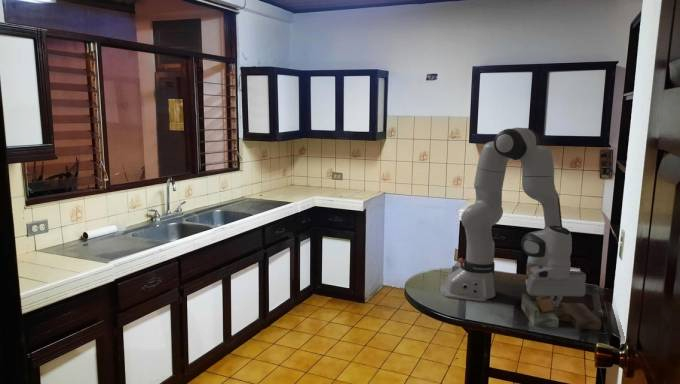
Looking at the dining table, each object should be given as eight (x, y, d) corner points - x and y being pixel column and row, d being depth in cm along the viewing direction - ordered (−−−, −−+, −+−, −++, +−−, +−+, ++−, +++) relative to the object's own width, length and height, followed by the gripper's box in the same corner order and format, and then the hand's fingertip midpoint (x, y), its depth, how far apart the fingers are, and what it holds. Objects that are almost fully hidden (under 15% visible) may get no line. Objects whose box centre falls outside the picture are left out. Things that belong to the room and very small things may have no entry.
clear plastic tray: (533, 326, 173) (534, 310, 172) (521, 308, 189) (522, 293, 188) (600, 329, 171) (602, 313, 170) (582, 310, 187) (583, 296, 186)
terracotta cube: (542, 312, 178) (539, 301, 177) (539, 308, 182) (535, 297, 181) (553, 309, 177) (550, 298, 176) (549, 305, 181) (546, 294, 180)
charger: (478, 269, 234) (471, 278, 221) (459, 266, 239) (451, 275, 226) (479, 260, 234) (472, 268, 221) (460, 257, 238) (452, 265, 225)
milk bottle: (528, 281, 218) (531, 238, 215) (546, 285, 214) (550, 241, 211) (523, 286, 212) (526, 242, 209) (541, 290, 208) (545, 245, 204)
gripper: (582, 268, 179) (580, 304, 181) (526, 267, 181) (524, 302, 183) (590, 273, 173) (587, 310, 175) (531, 272, 174) (529, 309, 176)
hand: (554, 306), depth 179 cm, fingers closed
